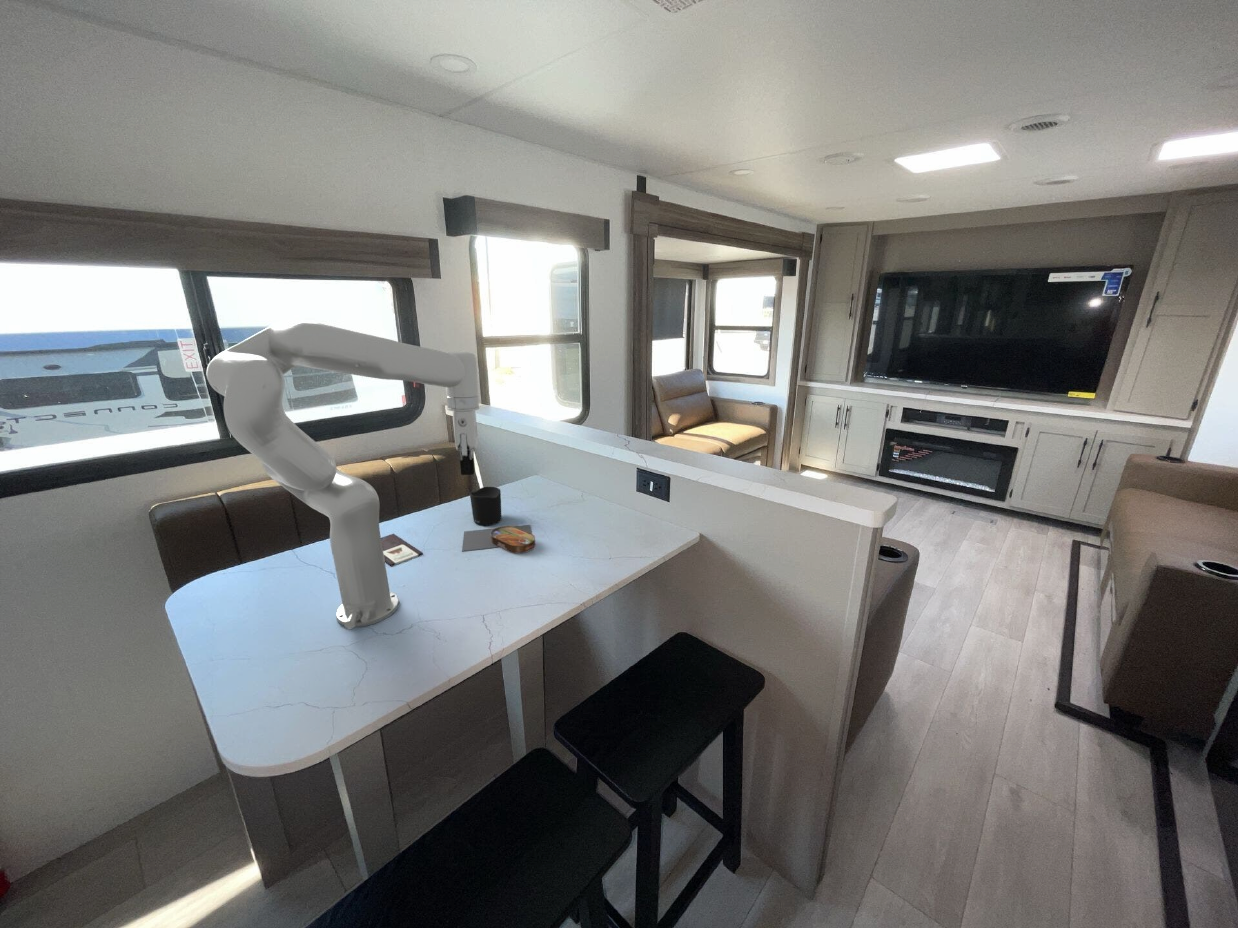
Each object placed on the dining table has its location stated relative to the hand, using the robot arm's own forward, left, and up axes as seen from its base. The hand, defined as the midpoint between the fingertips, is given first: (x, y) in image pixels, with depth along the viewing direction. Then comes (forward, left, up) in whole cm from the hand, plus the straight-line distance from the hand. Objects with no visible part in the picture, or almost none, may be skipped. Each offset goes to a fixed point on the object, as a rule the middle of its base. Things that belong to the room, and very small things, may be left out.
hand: (467, 473), depth 124 cm
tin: (+4, -7, -23) cm, 25 cm away
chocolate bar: (+11, +23, -25) cm, 36 cm away
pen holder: (+25, -3, -25) cm, 35 cm away
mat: (+12, -6, -25) cm, 28 cm away
